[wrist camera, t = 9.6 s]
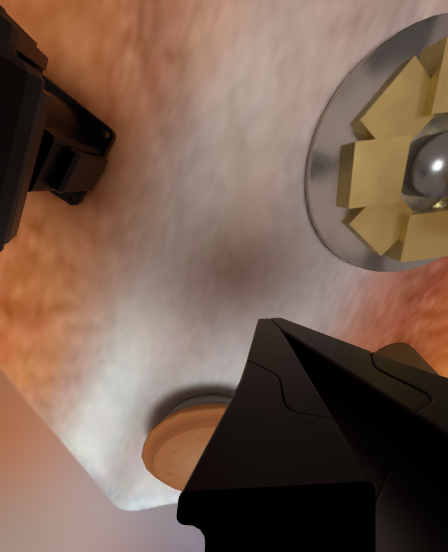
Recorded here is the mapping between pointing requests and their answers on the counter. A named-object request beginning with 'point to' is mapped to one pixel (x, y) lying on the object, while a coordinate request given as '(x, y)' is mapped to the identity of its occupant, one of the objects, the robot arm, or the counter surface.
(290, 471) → the robot arm
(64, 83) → the counter surface
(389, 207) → the tan block ring
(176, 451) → the pie
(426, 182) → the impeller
